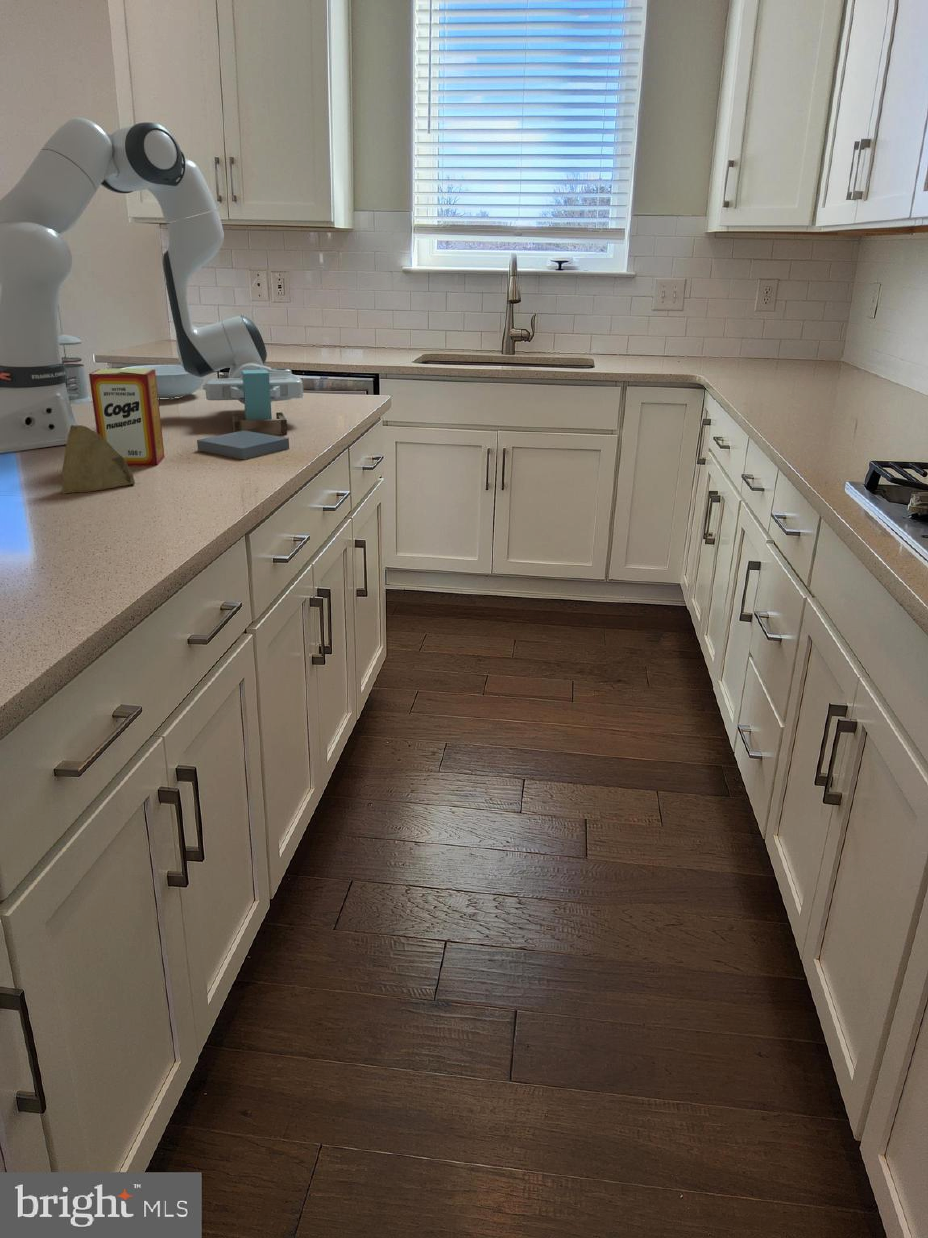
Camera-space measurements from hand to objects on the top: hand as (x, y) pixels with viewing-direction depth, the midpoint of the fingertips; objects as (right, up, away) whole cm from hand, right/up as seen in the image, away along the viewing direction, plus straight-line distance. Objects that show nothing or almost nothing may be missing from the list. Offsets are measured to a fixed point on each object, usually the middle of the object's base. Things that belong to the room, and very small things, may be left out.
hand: (257, 394), depth 186 cm
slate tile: (+1, -14, -13) cm, 19 cm away
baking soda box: (-17, -18, -24) cm, 34 cm away
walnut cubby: (0, -7, +4) cm, 8 cm away
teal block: (0, -7, +4) cm, 8 cm away
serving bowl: (-33, +9, +41) cm, 53 cm away
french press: (-53, +7, +33) cm, 63 cm away
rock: (-16, -25, -41) cm, 51 cm away
